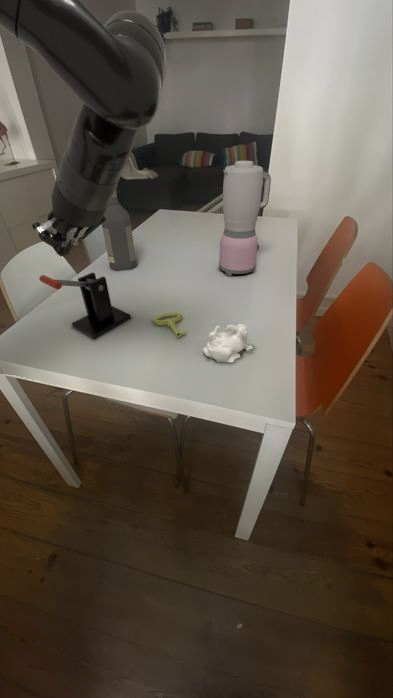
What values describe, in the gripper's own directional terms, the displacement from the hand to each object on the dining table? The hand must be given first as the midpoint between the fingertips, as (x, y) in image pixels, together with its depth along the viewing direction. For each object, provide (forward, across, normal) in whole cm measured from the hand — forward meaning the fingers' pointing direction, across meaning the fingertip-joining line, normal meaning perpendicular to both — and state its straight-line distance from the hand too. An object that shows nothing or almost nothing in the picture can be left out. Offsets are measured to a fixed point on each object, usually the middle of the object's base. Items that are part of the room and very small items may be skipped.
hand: (60, 251), depth 59 cm
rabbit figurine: (-2, -18, +36) cm, 41 cm away
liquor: (+40, -38, -5) cm, 56 cm away
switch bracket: (+23, -10, +11) cm, 27 cm away
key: (+12, -20, +23) cm, 32 cm away
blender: (+15, -61, +19) cm, 65 cm away
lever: (+14, -5, +3) cm, 15 cm away
